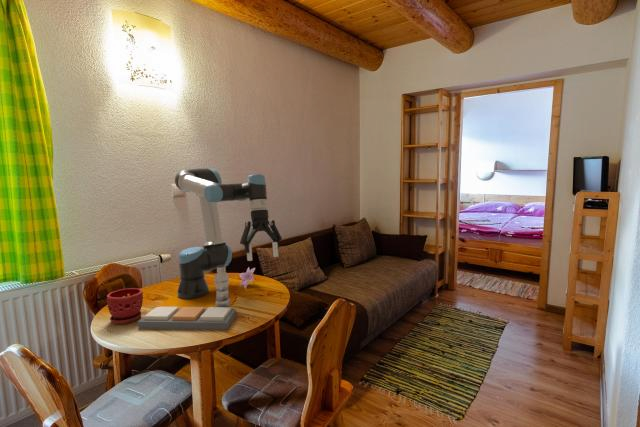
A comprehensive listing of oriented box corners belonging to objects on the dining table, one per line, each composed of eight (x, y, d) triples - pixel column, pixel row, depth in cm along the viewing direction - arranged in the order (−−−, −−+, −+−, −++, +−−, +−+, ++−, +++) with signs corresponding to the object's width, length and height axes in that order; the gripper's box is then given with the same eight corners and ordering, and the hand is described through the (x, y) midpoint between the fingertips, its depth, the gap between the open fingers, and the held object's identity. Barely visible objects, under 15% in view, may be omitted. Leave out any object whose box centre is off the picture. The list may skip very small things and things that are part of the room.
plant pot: (140, 323, 137) (138, 296, 136) (104, 328, 134) (101, 299, 132) (147, 311, 150) (145, 285, 148) (114, 314, 146) (112, 288, 145)
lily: (240, 283, 189) (233, 271, 184) (259, 274, 191) (253, 262, 186) (244, 296, 179) (236, 284, 174) (264, 286, 181) (257, 274, 176)
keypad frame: (155, 314, 146) (155, 308, 145) (236, 315, 144) (236, 309, 144) (138, 328, 133) (137, 321, 132) (226, 329, 131) (226, 322, 131)
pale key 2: (209, 311, 143) (208, 307, 142) (230, 311, 142) (230, 307, 142) (200, 321, 133) (200, 316, 133) (223, 321, 133) (223, 317, 133)
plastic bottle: (233, 307, 153) (231, 265, 150) (224, 313, 147) (222, 269, 144) (221, 305, 155) (219, 264, 153) (212, 311, 149) (210, 268, 146)
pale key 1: (157, 311, 144) (156, 306, 143) (178, 311, 143) (178, 306, 143) (144, 320, 134) (144, 316, 134) (167, 321, 134) (167, 316, 134)
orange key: (183, 311, 143) (182, 306, 143) (204, 311, 143) (204, 307, 142) (172, 321, 134) (172, 316, 133) (195, 321, 133) (195, 316, 133)
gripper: (238, 209, 133) (242, 262, 132) (286, 208, 151) (291, 255, 149) (229, 211, 138) (233, 262, 137) (276, 210, 156) (280, 255, 155)
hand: (263, 258), depth 143 cm, fingers open, 13 cm apart
